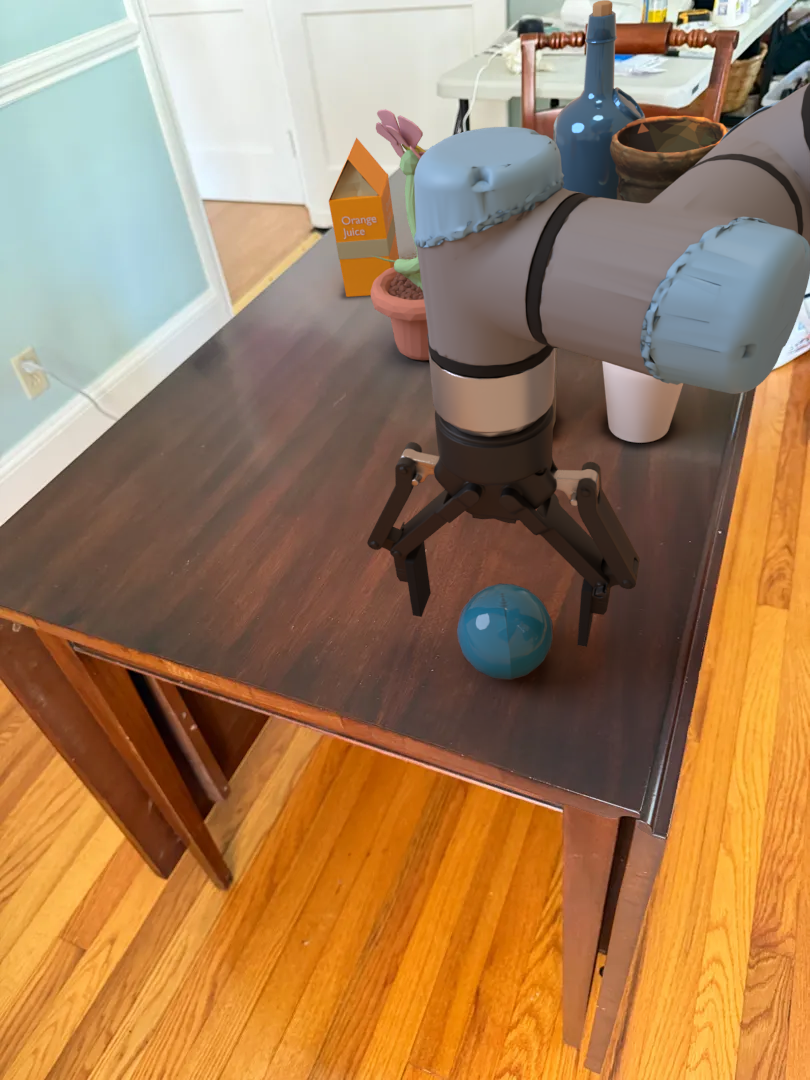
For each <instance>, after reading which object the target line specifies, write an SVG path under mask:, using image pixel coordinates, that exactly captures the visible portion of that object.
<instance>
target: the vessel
mask: <svg viewBox="0 0 810 1080" xmlns="http://www.w3.org/2000/svg"><path fill="white" fill-rule="evenodd" d="M728 131H729V129H728V128H727V127H726V125H724V123H721V122H717V121H714V120H713V119H710V118H707V117H704V116H692V115H691V116H690V115H669V116H668V115H660V116H659V115H658V116H649V117H645V118H642V119H638V120H635V121H633V122H631V123H629V124H627V125H626V126H625V127H624V128H622V129H621V130H619V131H618V132H617V133H615V134H614V135H613V136H612V141H611V145H610V152H611V156H612V159H613V161H614V163H615V165H616V168H615V169H616V173H617V175H618V176H619V183H618V187H617V200H622V201H628V202H636V203H645V204H646V203H650V202H651V201H652V200H653V199H655V198H656V197H657V196H658V195H659V194H661V193H662V192H663V191H664V190H665V189H666V188H668V187H669V186H670V185H671V184H672V183H674V182H675V181H676V180H677V179H678V178H679V177H681V176H682V175H683V174H684V173H685V172H686V171H687V170H688V169H689V168H691V167H692V166H694V165H695V164H696V163H698V162H699V161H700V160H701V159H702V158H703V157H704V156H705V155H706V154H708V153H709V152H710V151H711V150H712V149H713V148H714V147H715V146H716V145H718V144H719V142H720V141H721V139H722V138H723V136H724V135H725V134H726V133H727V132H728Z"/></svg>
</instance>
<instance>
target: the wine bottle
mask: <svg viewBox="0 0 810 1080" xmlns="http://www.w3.org/2000/svg"><path fill="white" fill-rule="evenodd" d="M587 19H588V20H587V26H586V34H585V39H584V41H585V43H586V48H585V53H586V54H585V65H584V79H583V81H584V82H583V90H582V91H581V94H580V95H579V96H577V97H576V98H574V99H572V100H571V101H570V102H568V103H567V104H566V105H565V106H564V107H563V108H562V109H561V110H560V111H559V113H558V114H557V116H556V118H555V120H554V122H553V128H552V130H553V133H552V135H553V138H552V140H553V141H554V142H555V143H556V144H557V147H558V149H559V151H560V156H561V166H562V173H563V175H564V177H563V182H564V185H563V188H564V189H567V190H569V191H574V192H580V193H584V194H586V195H592V196H596V197H602V198H608V199H615V200H617V187H618V183H619V176H618V175H617V173H616V169H615V168H616V165H615V163H614V161H613V159H612V156H611V152H610V145H611V141H612V136H613V135H614V134H615V133H617V132H618V131H619V130H621V129H622V128H624V127H625V126H626V125H627V124H629V123H631V122H633V121H635V120H638V119H642V118H646V115H645V113H644V110H643V109H642V107H641V106H640V105H639V103H638V102H637V101H636V100H635V99H634V98H633V96H631V95H630V94H628V93H626V92H625V91H624V90H622V89H621V88H620V87H618V86H615V64H616V63H615V61H616V60H615V59H616V58H615V57H616V54H615V53H616V40H617V39H618V35H617V15H616V12H615V11H614V10H613V2H612V1H611V0H598V1H596V2H594V3H593V4H592V13H590V14H589V15H588V18H587Z"/></svg>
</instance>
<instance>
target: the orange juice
mask: <svg viewBox="0 0 810 1080" xmlns="http://www.w3.org/2000/svg"><path fill="white" fill-rule="evenodd" d="M389 176H390V175H389V173H387V172H386V171H385V169H384V168H383V167H382V166H381V164H379V162H378V161H377V159H375V157H374V156H373V155H372V154H371V152H370V151H369V150H368V149H367V148H366V147H365V146H364V145H363V143H362V142H361V141H360V140H359V138H358V137H357V136H356V137H355V140H354V142H353V144H352V146H351V149H350V151H349V153H348V155H347V157H346V160H345V162H344V164H343V166H342V168H341V171H340V173H339V175H338V177H337V180H336V182H335V184H334V187H333V189H332V191H331V193H330V197H329V199H328V206H329V210H330V216H331V221H332V222H331V223H332V227H333V233H334V238H335V246H336V251H337V255H338V260H339V265H340V268H341V269H340V270H341V275H342V280H343V281H342V282H343V286H344V292H345V297H346V298H351V297H352V298H353V297H365V296H371V289H372V285H373V282H374V281H375V279H376V278H377V277H379V276H380V275H381V274H382V273H383V272H384V271H386V270H387V269H390V268H392V267H394V263H395V262H389V261H385V260H382V259H379V258H376V257H373V256H377V257H381V258H385V259H389V260H394V261H396V260H397V259H400V255H399V248H398V241H397V232H396V231H397V230H396V222H395V216H394V209H393V202H392V195H391V187H390V180H389Z"/></svg>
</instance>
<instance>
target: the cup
mask: <svg viewBox="0 0 810 1080" xmlns="http://www.w3.org/2000/svg"><path fill="white" fill-rule="evenodd" d="M601 362H602V373H603V383H604V394H605V403H606V404H605V405H606V415H607V423H608V429H609V431H610V432H611V433H612V434H613V436H615V437H616V438H619V439H620V440H623V441H626V442H631V443H637V444H638V443H639V444H640V443H641V444H642V443H650V442H654V441H657V440H660V439H661V438H663V437H664V436H665V435H667V434H668V431H670V430H669V429H670V426H671V423H672V420H673V417H674V413H675V411H676V409H677V405H678V403H679V399H680V395H681V393H682V388H683V387H684V384H683V383H680V384H678V385H676V384H672V383H669V384H668V383H664V382H662V381H661V380H660V379H656V378H654V377H652V376H649V375H646V374H642V373H639V372H636V371H633V370H630V369H626V368H623V367H620V366H617V365H614V364H610V363H607V362H604V361H601Z"/></svg>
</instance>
